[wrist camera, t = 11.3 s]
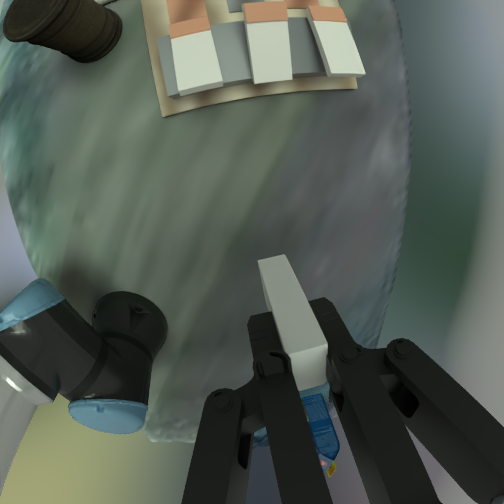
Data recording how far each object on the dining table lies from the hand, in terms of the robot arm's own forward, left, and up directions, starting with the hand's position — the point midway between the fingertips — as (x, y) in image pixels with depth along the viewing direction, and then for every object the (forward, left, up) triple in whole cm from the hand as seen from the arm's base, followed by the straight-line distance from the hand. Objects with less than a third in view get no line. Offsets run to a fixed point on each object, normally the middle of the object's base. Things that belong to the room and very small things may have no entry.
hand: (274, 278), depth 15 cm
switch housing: (+6, +17, -25) cm, 31 cm away
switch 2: (+14, +17, -19) cm, 29 cm away
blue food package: (+8, -69, -27) cm, 74 cm away
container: (-16, +28, -27) cm, 42 cm away
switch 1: (-2, +16, -19) cm, 25 cm away
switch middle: (+6, +18, -19) cm, 27 cm away
